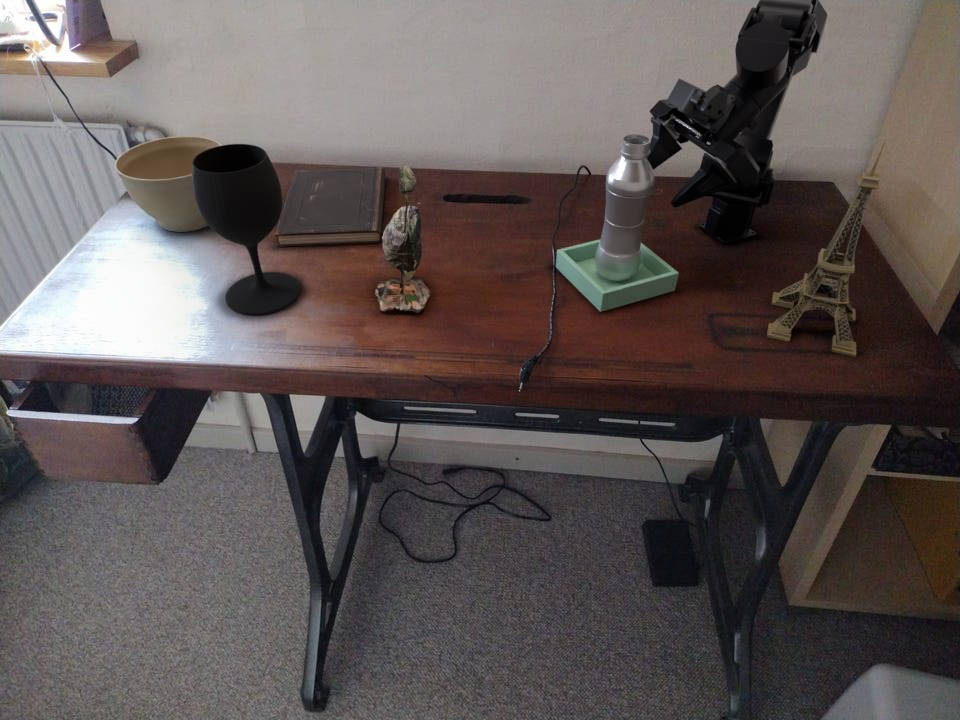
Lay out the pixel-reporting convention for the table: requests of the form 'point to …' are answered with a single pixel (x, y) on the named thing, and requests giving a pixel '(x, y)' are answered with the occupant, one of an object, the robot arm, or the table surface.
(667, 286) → the bin
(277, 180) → the wine glass
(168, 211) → the planter bowl
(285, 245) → the hardcover book
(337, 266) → the table surface
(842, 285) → the eiffel tower
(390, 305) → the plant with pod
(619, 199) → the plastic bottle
